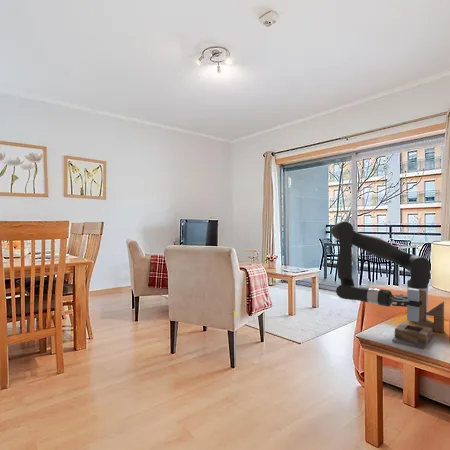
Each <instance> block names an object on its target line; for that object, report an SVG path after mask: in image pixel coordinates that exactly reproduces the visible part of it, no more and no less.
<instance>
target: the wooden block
mask: <svg viewBox="0 0 450 450" xmlns="http://www.w3.org/2000/svg"><path fill="white" fill-rule="evenodd" d="M419 300H422V305H420V307H419V321H418V322H416V325H421V326H426V327H431V328H432V332H436V333H441V334H442V333H444V331H445V301H442V302H440V303H439V304H438V305H436V306H434V307H433V308H432V309H430V310H428V312H427V313H426V291H423V290H419ZM426 315H428V316H430V317H431V316H432V317H433V321H432V320H429V319H428V320H426Z"/></svg>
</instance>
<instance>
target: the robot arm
mask: <svg viewBox="0 0 450 450" xmlns="http://www.w3.org/2000/svg"><path fill="white" fill-rule="evenodd" d="M330 232H331V235H332V237H333V238H334V239H336V240H338V241H339V243H338V244H339V251H338V252H339V253H338V257H337V262H336V263H337V277H338V279H339V280H340V285H338V286H337V287H336V288H335V293H336V295H337V296H338V297H339V298H340V299H344V300H350V301H353V300H354V301H359V302H364V303H370V304H371V305H377V306H383V307H391V306H393V307H406V308H407V306H414V307H420V305H422V300H419V302H416V301H410V300H407V295H404V294H395V295H394V294H393V293H392V291H391V290H389V289H382V288H373V287H371V288H370V287H363V286H355V282H354V279H353V269H352V267H353V262H352V249H353V246H355V247H356V248H359V249H360V250H362V251H365V252H367V253H369V254H370V255H373V256H375V257H377V258H380V259H383V260H386V261H389V262H392V263H394V264H396V265H398V266H400V267H402V268H404V269H405V270H407V271H408V272H410V279H409V280H407V281H406V282H407V284H406V285H407V286H406V287H407V288H406V290H407V289H408V288H413V289H419V290H423V291H426V313H427V312H429V283H430V281H431V280H430V279H431V265H430V261H429V260H428V258H426V257H423V256H419V255H415V254H412V253H409V252H406V251H403V250H401V249H399V248H398V247H396V246H395V245H393V244H392V243H390V242H388V241H387V240H384V239H382V238H379V237H378V236H373V235H368V234H364V233H361V232H357V231H356V230H355V229H354V226H353V225H352V223H351V222H349V221H345V220H344V221H340V222H337V223H336V224H334V225H333V226H332V227H331V231H330ZM426 320H428V321H429V315H426Z"/></svg>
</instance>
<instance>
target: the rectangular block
mask: <svg viewBox="0 0 450 450" xmlns="http://www.w3.org/2000/svg"><path fill="white" fill-rule="evenodd" d="M406 293H407V295H406V296H407V300H410V301H416V302H419V289H413V288H408V289H407V288H406ZM406 308H407V311H406V313H407V315H406V317H407V318H406V319H407V320H406V321H408V322H409V321H410V322H414V323H415V322H416V323H417V322H418V321H419V307H414V306H407V307H406Z"/></svg>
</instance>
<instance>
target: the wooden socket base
mask: <svg viewBox="0 0 450 450" xmlns="http://www.w3.org/2000/svg"><path fill="white" fill-rule="evenodd" d="M434 336H435V332H433V331H432V328H431V327H426V326H421V325H417V323H411V322H405V321H402V322H401V323H400V324H398V326H396V327H395V328H394V337H392V338H391V342H392V343H397V344H401V345H405V346H409V347H413V348H418V349H421V350H425V348H426V346H427V345H428V344H429V343H430V342H431V340H432V339H433V337H434Z"/></svg>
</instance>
